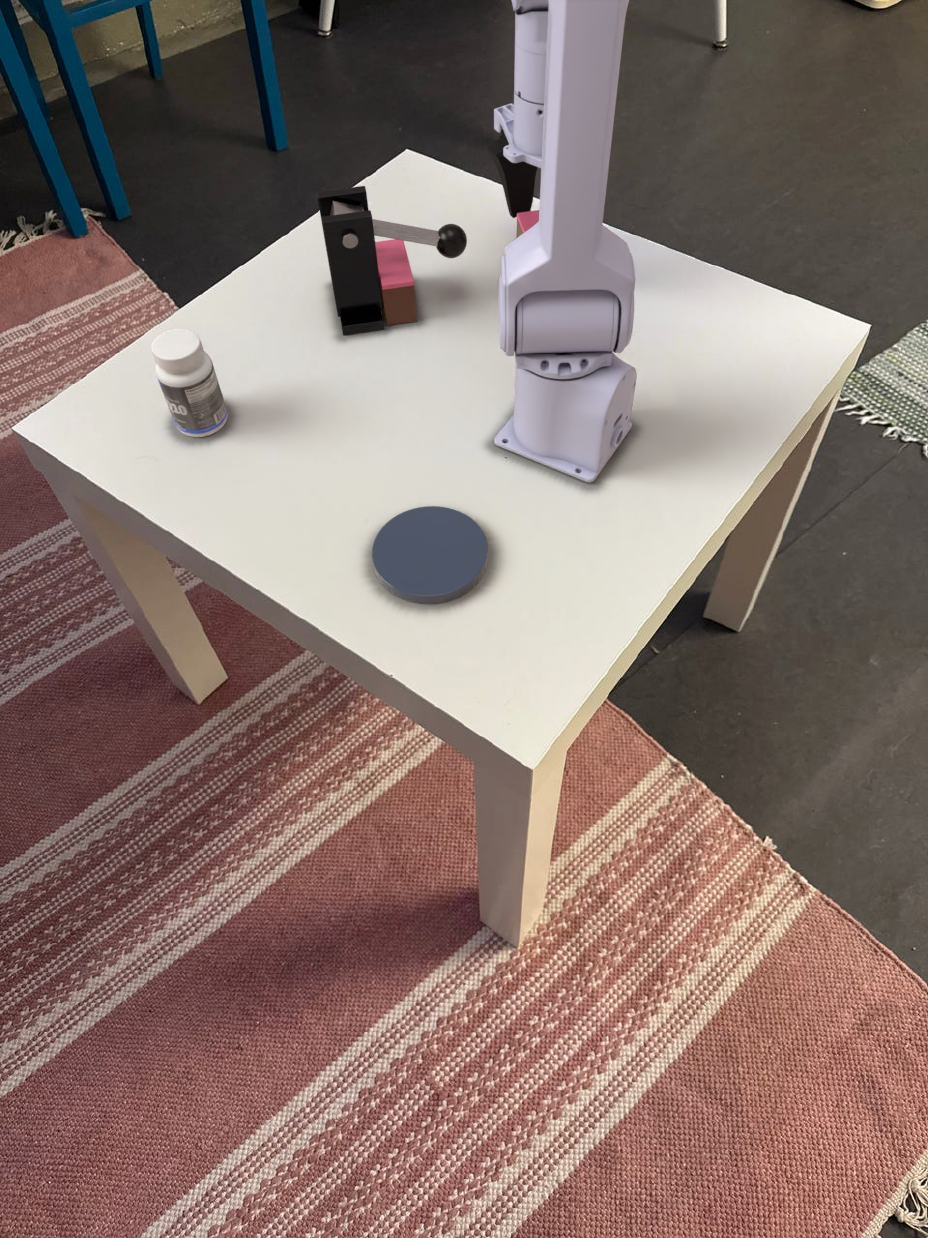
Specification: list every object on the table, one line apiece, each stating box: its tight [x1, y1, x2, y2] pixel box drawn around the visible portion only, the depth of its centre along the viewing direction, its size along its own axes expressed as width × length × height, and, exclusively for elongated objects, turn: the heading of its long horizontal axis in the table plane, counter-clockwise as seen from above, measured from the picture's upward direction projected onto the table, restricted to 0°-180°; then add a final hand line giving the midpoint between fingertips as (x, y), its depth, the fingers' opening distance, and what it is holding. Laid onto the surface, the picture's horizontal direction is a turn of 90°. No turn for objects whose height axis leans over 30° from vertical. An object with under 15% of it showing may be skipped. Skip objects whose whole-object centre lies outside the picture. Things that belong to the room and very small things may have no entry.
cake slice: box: [515, 209, 539, 239], centre depth 92 cm, size 4×4×4 cm
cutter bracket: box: [316, 185, 385, 336], centre depth 86 cm, size 4×8×11 cm, turn 11°
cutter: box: [330, 201, 468, 259], centre depth 84 cm, size 13×3×3 cm, turn 101°
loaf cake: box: [375, 239, 418, 327], centre depth 89 cm, size 3×7×4 cm, turn 11°
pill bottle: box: [150, 328, 229, 438], centre depth 78 cm, size 5×5×8 cm
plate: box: [371, 505, 489, 605], centre depth 71 cm, size 9×9×1 cm
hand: (540, 232), depth 91 cm, fingers open, 7 cm apart
